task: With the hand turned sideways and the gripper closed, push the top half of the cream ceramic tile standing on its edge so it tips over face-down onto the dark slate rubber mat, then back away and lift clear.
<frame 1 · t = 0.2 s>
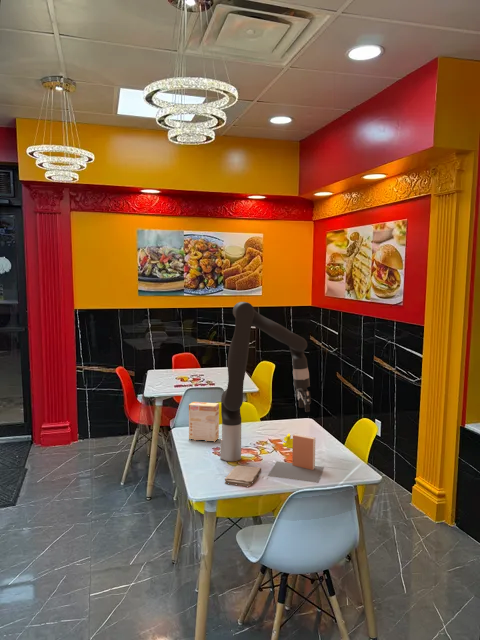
hand: (304, 409, 232), 22 cm above the table, tool pointing down, fingers open, 8 cm apart
crumpled paper: (290, 448, 243), on the table
washcloth: (243, 479, 205), on the table
tile: (303, 466, 216), point 1 cm above the table, touching mat
coffeecake box: (203, 439, 255), on the table
mat: (296, 473, 210), on the table
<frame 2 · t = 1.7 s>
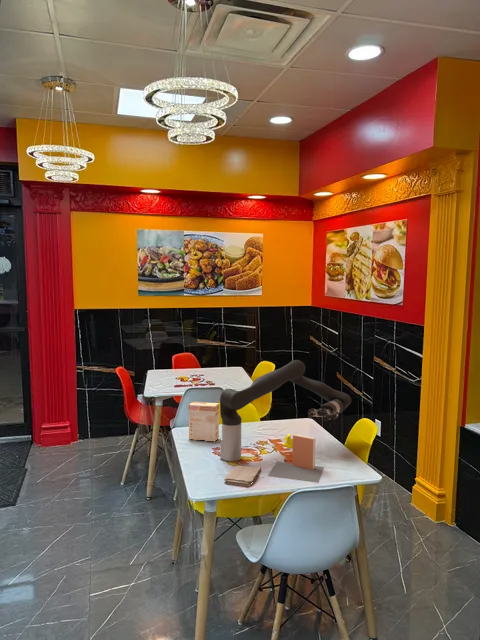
hand: (317, 417, 226), 20 cm above the table, tool horizontal, fingers open, 7 cm apart
nothing on the table moved.
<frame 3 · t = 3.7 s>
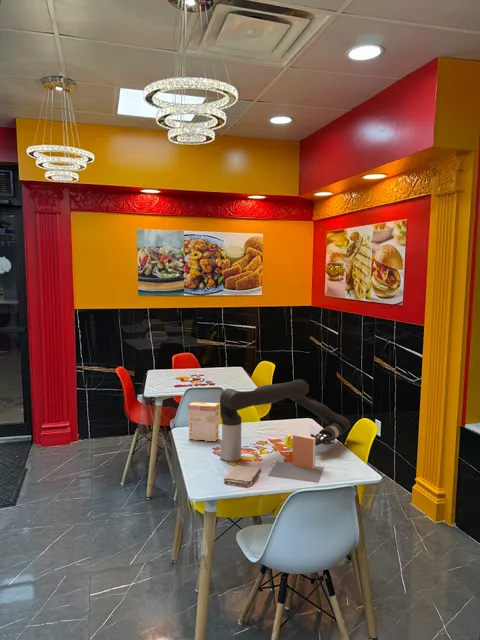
hand: (315, 443, 226), 8 cm above the table, tool horizontal, fingers closed
nothing on the table moved.
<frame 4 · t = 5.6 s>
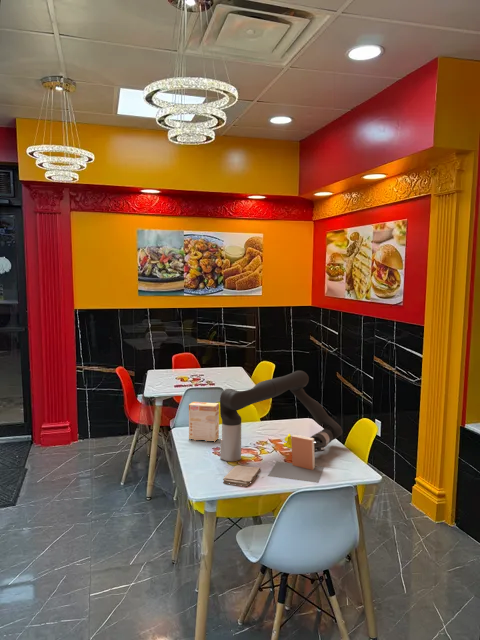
hand: (304, 451, 215), 8 cm above the table, tool horizontal, fingers closed
tile: (303, 466, 216), point 1 cm above the table, tilted 6°, touching mat
everything else where it was.
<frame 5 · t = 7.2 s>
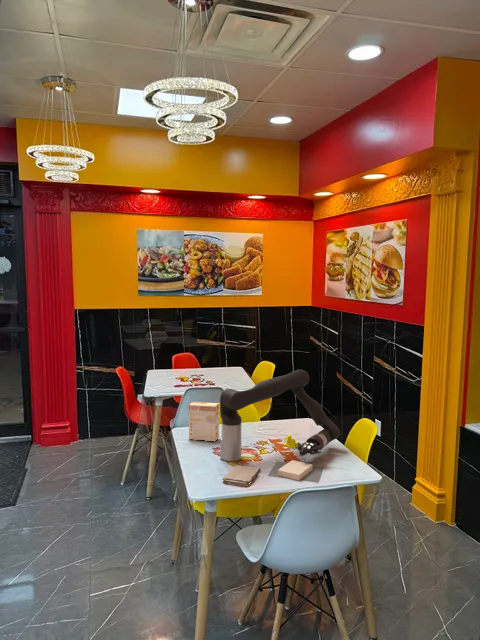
hand: (301, 453, 213), 8 cm above the table, tool horizontal, fingers closed
tile: (302, 465, 214), point 2 cm above the table, tilted 90°, touching mat
everything else where it was.
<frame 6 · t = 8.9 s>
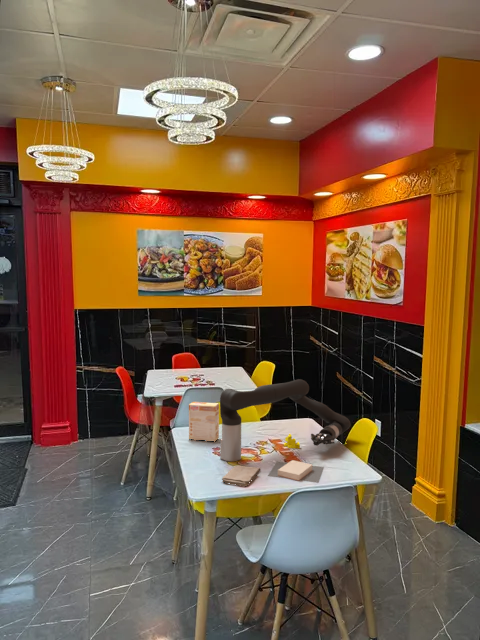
hand: (315, 443, 226), 8 cm above the table, tool horizontal, fingers closed
nothing on the table moved.
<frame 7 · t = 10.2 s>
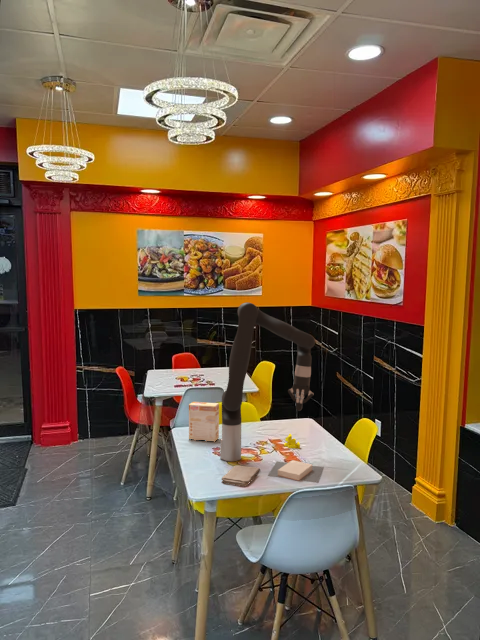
hand: (298, 410, 229), 23 cm above the table, tool pointing down, fingers closed
nothing on the table moved.
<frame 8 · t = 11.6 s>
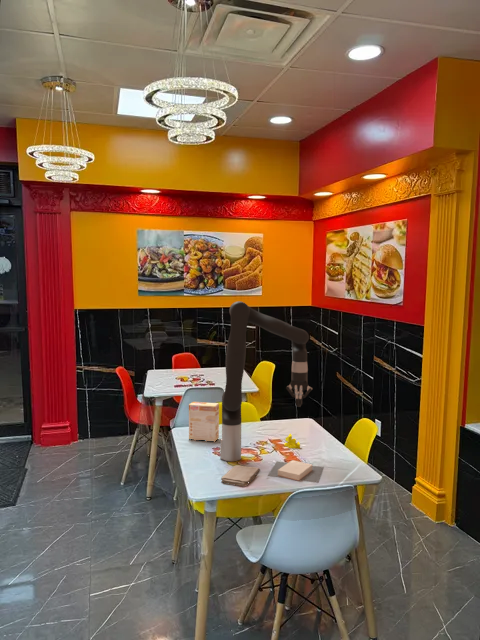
hand: (298, 406, 228), 25 cm above the table, tool pointing down, fingers closed
at the end: tile tilted 90°; tile touching mat; tile inside the target area (1.7 cm from its centre), point 2.0 cm above the table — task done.
